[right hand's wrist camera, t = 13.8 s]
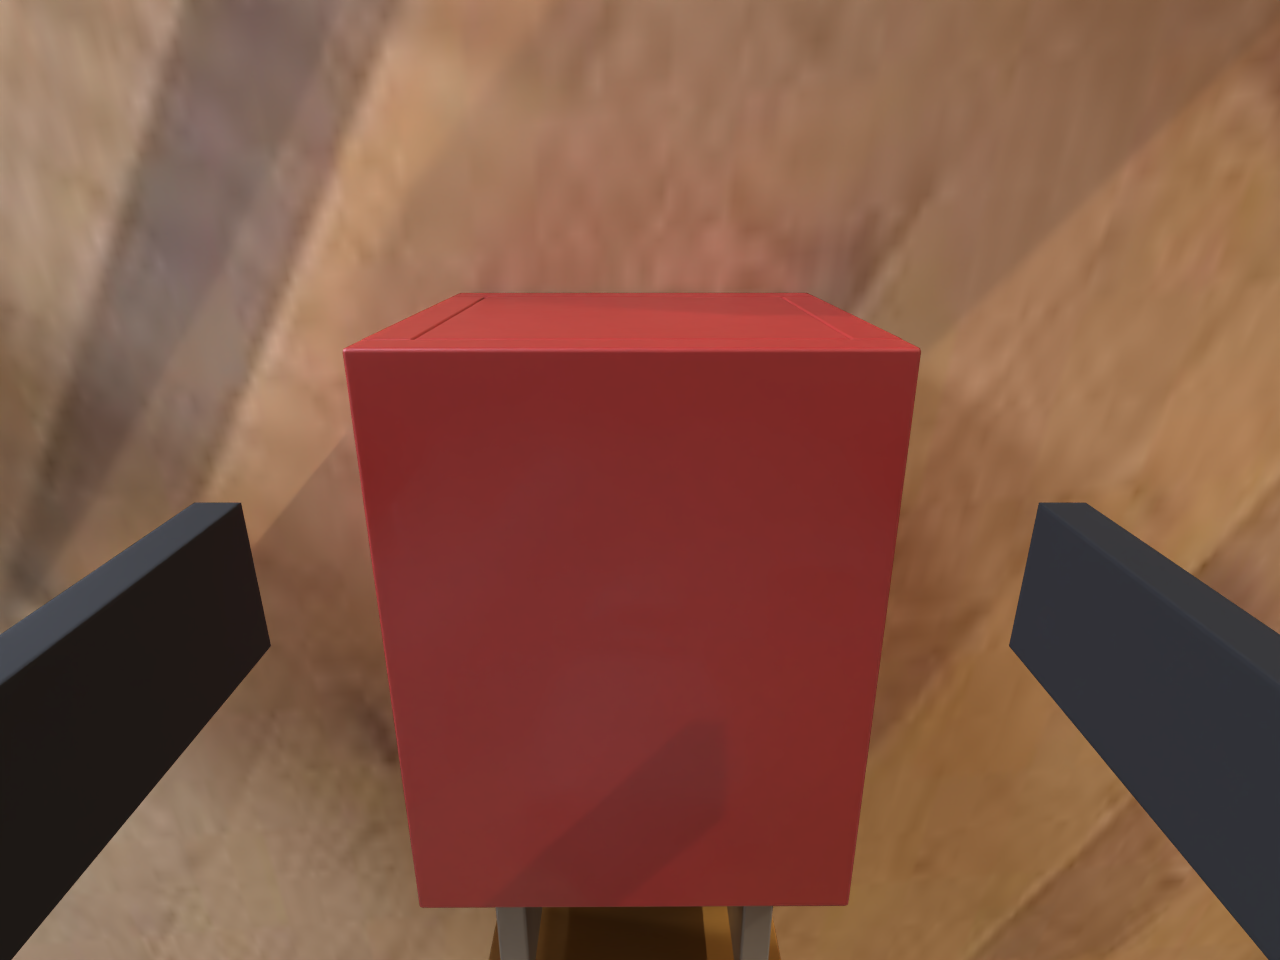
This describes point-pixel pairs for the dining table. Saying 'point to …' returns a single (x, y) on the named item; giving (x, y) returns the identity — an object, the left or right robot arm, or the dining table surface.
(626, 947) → the drawer
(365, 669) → the dining table surface
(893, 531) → the cabinet
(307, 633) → the dining table surface
